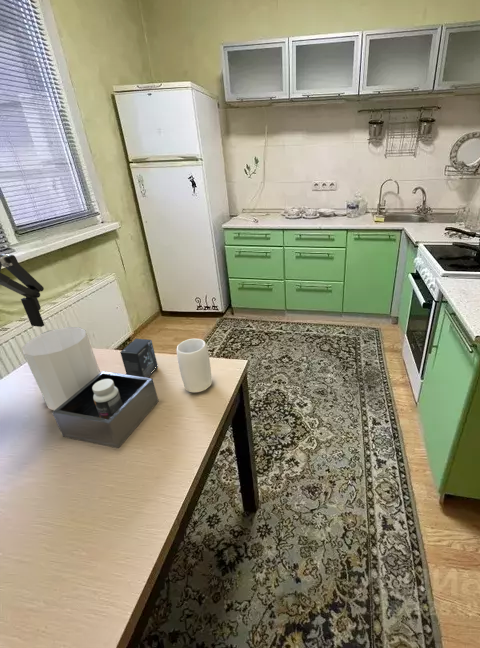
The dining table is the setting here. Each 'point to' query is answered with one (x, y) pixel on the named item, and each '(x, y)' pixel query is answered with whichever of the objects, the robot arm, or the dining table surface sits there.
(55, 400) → the container
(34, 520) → the dining table surface
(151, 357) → the box
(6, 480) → the dining table surface
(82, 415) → the bin
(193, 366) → the cup
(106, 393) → the pill bottle
